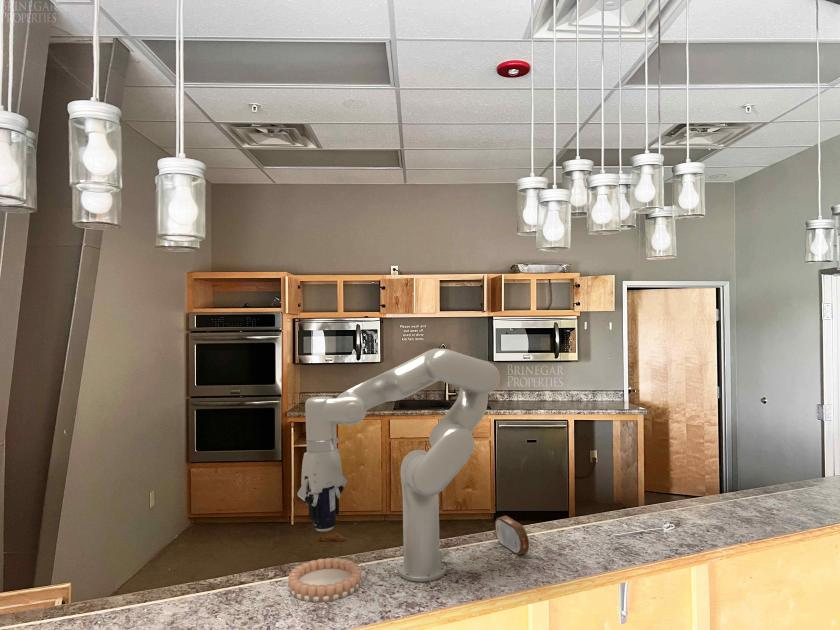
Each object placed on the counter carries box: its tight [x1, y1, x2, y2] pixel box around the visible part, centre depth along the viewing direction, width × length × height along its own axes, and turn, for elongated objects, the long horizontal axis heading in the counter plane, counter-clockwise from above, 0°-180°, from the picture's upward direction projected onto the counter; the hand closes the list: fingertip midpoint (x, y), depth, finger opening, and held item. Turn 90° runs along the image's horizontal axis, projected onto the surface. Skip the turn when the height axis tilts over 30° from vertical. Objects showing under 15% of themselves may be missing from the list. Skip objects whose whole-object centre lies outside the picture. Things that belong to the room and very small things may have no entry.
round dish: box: [287, 557, 363, 603], centre depth 136 cm, size 18×18×3 cm
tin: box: [494, 515, 530, 556], centre depth 157 cm, size 15×3×8 cm, turn 22°
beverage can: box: [312, 482, 337, 532], centre depth 137 cm, size 6×6×12 cm
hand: (324, 516), depth 137 cm, fingers closed on beverage can, 5 cm apart
